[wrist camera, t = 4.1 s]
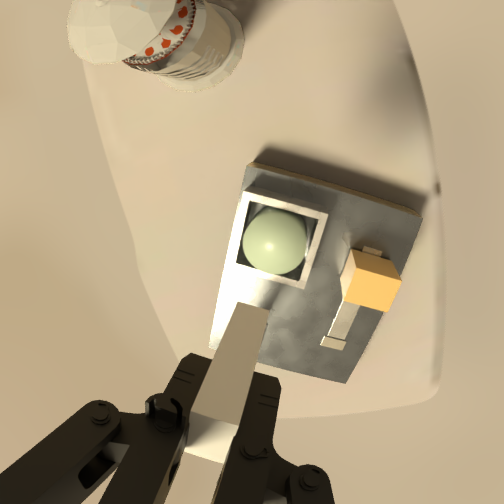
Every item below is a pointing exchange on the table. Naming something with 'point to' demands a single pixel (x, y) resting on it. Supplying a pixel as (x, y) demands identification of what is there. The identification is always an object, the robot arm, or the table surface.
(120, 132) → the table surface
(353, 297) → the yellow cube
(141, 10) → the french press
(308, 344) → the panel
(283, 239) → the push button
